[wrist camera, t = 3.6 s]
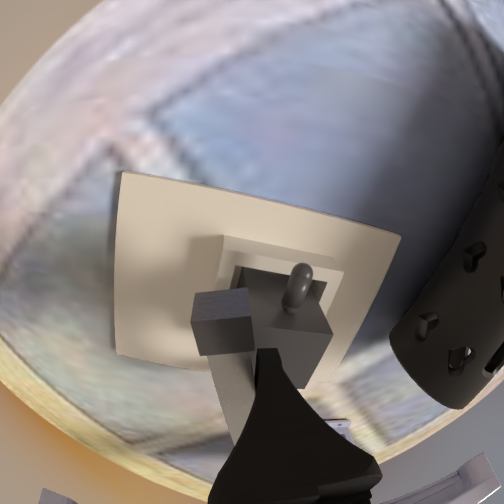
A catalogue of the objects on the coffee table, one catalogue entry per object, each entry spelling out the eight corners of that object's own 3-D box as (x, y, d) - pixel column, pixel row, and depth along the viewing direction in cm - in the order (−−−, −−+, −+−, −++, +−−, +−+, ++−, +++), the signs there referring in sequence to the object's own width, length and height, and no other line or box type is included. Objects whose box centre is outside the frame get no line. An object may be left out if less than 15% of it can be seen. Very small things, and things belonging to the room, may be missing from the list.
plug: (318, 236, 17) (356, 287, 12) (286, 323, 20) (304, 389, 14) (253, 222, 17) (267, 271, 11) (229, 315, 19) (231, 383, 14)
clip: (240, 231, 16) (251, 315, 9) (257, 373, 21) (269, 460, 14) (205, 235, 16) (190, 322, 9) (232, 375, 21) (236, 463, 14)
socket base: (397, 233, 18) (417, 248, 16) (326, 377, 24) (334, 399, 21) (125, 170, 15) (109, 178, 13) (118, 348, 21) (109, 371, 18)
